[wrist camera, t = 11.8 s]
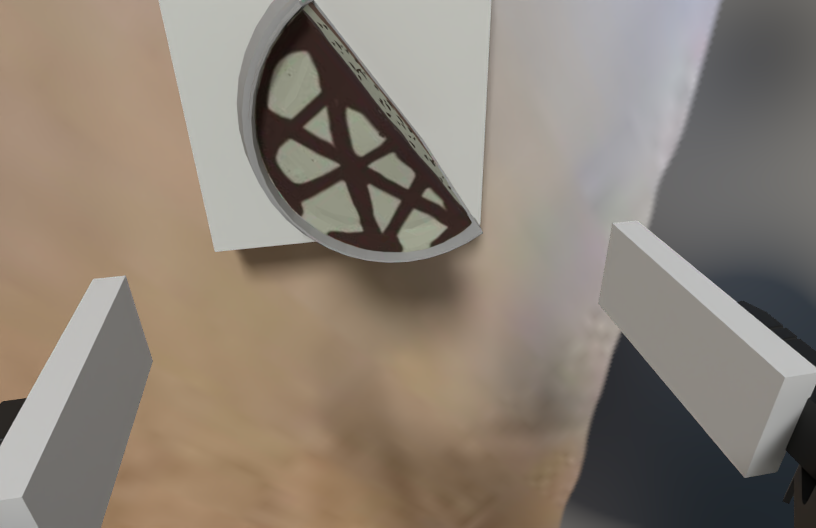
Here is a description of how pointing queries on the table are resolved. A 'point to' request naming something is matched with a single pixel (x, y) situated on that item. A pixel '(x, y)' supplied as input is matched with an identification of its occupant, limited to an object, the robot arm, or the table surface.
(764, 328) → the robot arm
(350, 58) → the food container
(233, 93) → the stand
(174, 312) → the table surface
